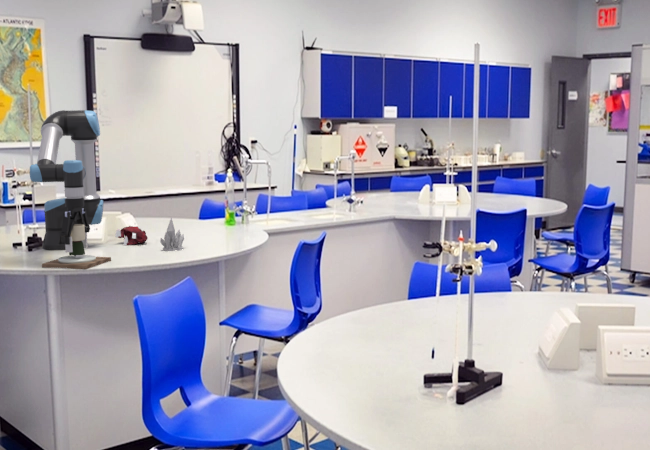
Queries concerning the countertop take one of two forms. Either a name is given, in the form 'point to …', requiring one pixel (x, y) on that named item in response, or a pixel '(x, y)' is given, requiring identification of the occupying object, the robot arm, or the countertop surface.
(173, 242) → the crystal
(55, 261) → the stand
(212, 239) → the countertop surface
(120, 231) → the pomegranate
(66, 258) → the saucer
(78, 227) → the character mug
